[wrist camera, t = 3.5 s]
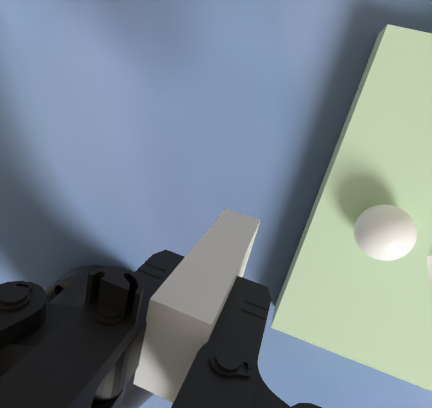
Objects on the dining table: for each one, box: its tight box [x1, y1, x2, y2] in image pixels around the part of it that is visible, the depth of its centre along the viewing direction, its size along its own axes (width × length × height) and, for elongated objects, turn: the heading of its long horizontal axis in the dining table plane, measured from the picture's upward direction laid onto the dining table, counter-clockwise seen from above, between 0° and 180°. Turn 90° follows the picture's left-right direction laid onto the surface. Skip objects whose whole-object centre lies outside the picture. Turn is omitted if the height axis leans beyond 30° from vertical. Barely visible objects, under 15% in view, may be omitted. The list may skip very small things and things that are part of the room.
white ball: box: [354, 204, 417, 261], centre depth 20 cm, size 3×3×3 cm
